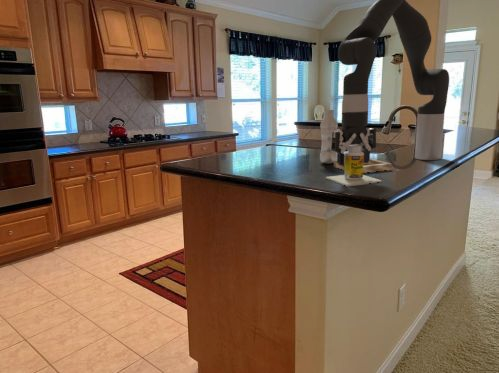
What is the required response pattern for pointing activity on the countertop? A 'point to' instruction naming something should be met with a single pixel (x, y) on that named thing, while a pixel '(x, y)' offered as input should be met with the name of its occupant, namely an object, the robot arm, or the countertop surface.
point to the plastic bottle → (328, 137)
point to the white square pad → (347, 182)
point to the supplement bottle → (354, 163)
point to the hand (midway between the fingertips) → (353, 164)
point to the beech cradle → (369, 166)
